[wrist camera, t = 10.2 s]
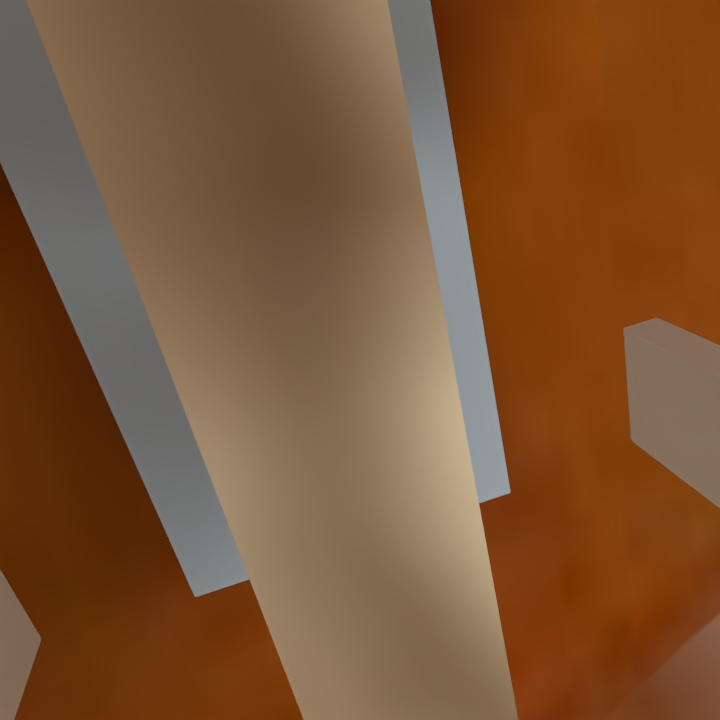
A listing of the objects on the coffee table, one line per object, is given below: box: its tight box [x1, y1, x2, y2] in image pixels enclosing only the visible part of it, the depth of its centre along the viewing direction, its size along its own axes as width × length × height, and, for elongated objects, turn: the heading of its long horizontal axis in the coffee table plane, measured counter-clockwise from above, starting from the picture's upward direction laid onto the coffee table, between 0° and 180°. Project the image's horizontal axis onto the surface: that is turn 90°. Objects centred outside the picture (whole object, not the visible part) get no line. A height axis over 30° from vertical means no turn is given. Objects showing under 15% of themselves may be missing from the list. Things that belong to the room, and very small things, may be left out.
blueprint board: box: [0, 0, 511, 597], centre depth 22 cm, size 16×26×8 cm, turn 13°
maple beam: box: [26, 0, 518, 720], centre depth 16 cm, size 5×22×7 cm, turn 13°
